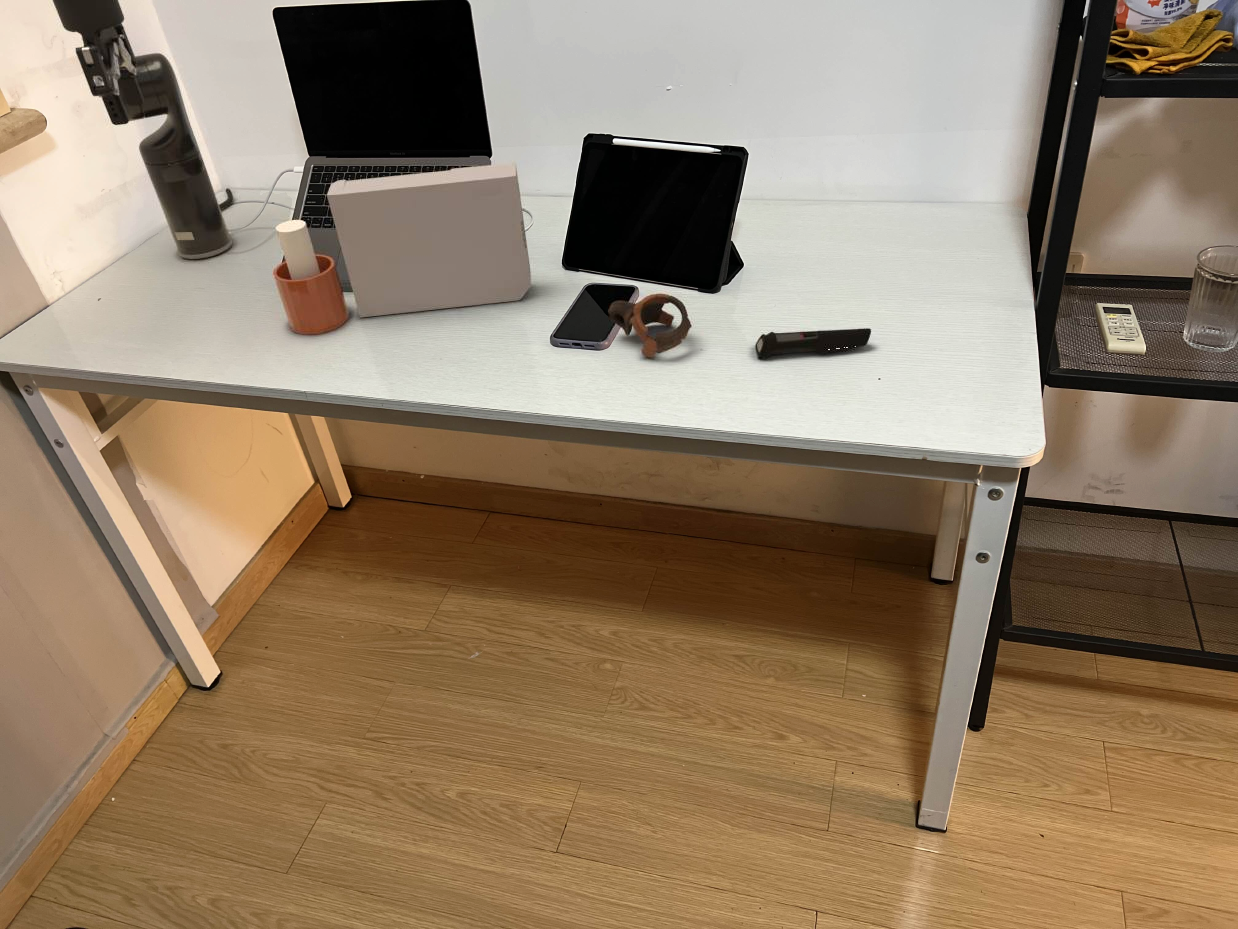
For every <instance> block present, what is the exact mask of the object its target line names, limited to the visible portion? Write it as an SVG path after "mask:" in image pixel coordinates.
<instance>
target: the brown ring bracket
mask: <svg viewBox="0 0 1238 929" xmlns="http://www.w3.org/2000/svg"><path fill="white" fill-rule="evenodd" d="M665 304H672V305H673V306H675V307H676V309H678V310H679V312H680V315H681V321H680V324H679V325H678V326H677V327H676V328H675V329H673V330H671V331H669V332H655V333H654V334H655V337H653V336H651V335H650V334H649V328H648V327H647V326H648V325H650V324H661V325H664V326H667V327H671V326H672V325H673V321H674V319H675V316H674V315H673V314H670V313H668V312H667V311H665V310H663V308H664V306H665ZM607 313H608V315H609V317H610V319H611V320H612V322H614V324H615V325H617V326H618V327H620V328H621V329H622V330H623V332H624V333H625V336H626V337H628V336H630V334H631V332H632V330H634V332H635V333H636V336H638V338H639V339H640V340H641V341H642V342H643V347H642V349H641V355H642V356H645V357H647V358H648V359H649V358H650V359H652V358H653V357H654V356H656V354H661V353H662V354H663V353H665V352H667V351H669V350H672V349H674V348H676V347H677V346H679V345H681V344H682V341H683V340H685V339H686V337H687V336H688V333H689V331H690V329H691V328H692V326H693V325H692V322H691V321H690V319H689V314H688V310H687V308H686V306H685V304H684V303H683V302H682V301H681V300H680V299H679V298H677V297H675V296H673V295H670V294H666V293H653V294H649V295H647V296H645V297H643V298H642V299H641V300H639V301H638V302H635V303H634V302H629V301H628V300H627V301H626V300H616V301H613V302H612V303H611V304H610V306H609V308H608V310H607Z"/></svg>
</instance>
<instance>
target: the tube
mask: <svg viewBox="0 0 1238 929" xmlns="http://www.w3.org/2000/svg"><path fill="white" fill-rule="evenodd" d="M275 231H276V234H277V237H278V241H279V244H280V247H281V249H282V254H283V256H284V260H285V261H286V263H287V266H288V269H289V273H290V276H291V279H292V280H301V279H307V278H311V277H314V276H316V275H319V274H320V270H319V267H318V263H317V260H316V257H315V254H316V253H315V250H314V246H313V243H312V240H311V236H310V233H309V229H308V226H307V223H306V221H304V220H301V219H293V220H292V219H291V220H287V221H284V222H281V223H279V224H277V226H276V227H275Z"/></svg>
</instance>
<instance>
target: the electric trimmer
mask: <svg viewBox="0 0 1238 929" xmlns="http://www.w3.org/2000/svg"><path fill="white" fill-rule="evenodd" d="M871 335H872V329H871V328H869V327H867V328H866V327H865V328H848V329H847V328H845V329H828V330H809V331H805V330H804V331H791V332H790V331H789V332H774V331H770V332H769V333H767V334H765V333H762V334H761V335H760V336H759V338H758V339H757V341H756V342H755V346H754V348H755V349H754V350H755V353H756V357H757V358H762V359H763V360H765V359H767V358H768V357H769V356H770V355H780V354H781V355H782V354H793V353H802V352H803V353H804V352H805V353H806V352H814V351H815V352H818V353H820V354H825V353H833V352H839V351H845V350H850V349H855V348H860V347H865V346H866V345H867V344H868V343H869V340H870V338H871ZM855 346H856V347H855ZM844 347H845V348H844ZM846 347H848V348H846ZM836 348H840V349H836ZM828 349H830V350H828Z"/></svg>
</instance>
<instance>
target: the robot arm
mask: <svg viewBox="0 0 1238 929" xmlns="http://www.w3.org/2000/svg"><path fill="white" fill-rule="evenodd" d="M52 3H53V5H54V7H55V10H56V13H57V15H58V17H59V20H60V23H61V26H62V27H63V28H64V30H66V31H67V32H70V33H78V34H80V36H81V40H82V43H83V46H81V47H80V46H79V47H75V54H76V56H77V59H78V61H79V64H80V66H81V69H82V72H83V75H84V77H85V80H86V82H87V85H88V87H89V88H88V89H89V90H90V93H91V95H92V96H93V97H98V98H101V99H102V102H103V104H104V107H105V110H106V112H107V114H108V117H109V119H110V122H111V124H112V125H114V126H121V125H127V124H129V122H134V121H140V120H144V119H149V118H155V117H158V116H159V117H160V116H165V115H166V119H165V120H164V122H163V123H162V125H161V126H160V127H159V128H157V129H156V130H155V131H154V132H152V133H151V134H149V135H148V136H146V137H144V138H143V139H142V140H141V141H140V143H139V145H138V150H139V153H140V156H141V159H142V162H143V163H144V167H145V168H146V169H145V170H146V171H147V174H148V177H149V179H150V181H151V184H152V186H153V189H154V191H155V194H156V197H157V200H158V202H159V204H160V205H159V206H160V207H161V210H162V212H163V214H164V215H163V216H164V217H165V220H166V223H167V225H168V228H169V231H170V233H171V236H172V238H173V241H174V243H175V246H176V249H177V253H178V255H179V257H181V258H182V259H187V260H200V259H202V260H203V259H207V258H211V257H214V256H218V255H220V254H223V253H224V252H226V251H227V250H228V249H230V248H231V247H232V245H233V240H232V237H231V236H230V234H229V233H230V232H229V230H228V228H227V225H226V224H227V223H226V222H225V218H224V216H223V212H222V210H223V209H225V208H227V207H229V205H231V204H232V202H233V200H234V196H233V192H232V190H231V189H230V188H228V187H227V188H226V189H225V193H226V195H227V199H226V200H224V201H223V202H221V203H219V201H218V198H217V196H216V193H215V190H214V187H213V184H212V182H211V178H210V176H209V173H208V170H207V168H206V164H205V162H204V159H203V156H202V153H201V150H200V147H199V144H198V142H197V139H196V136H195V133H194V130H193V128H192V125H191V122H190V120H189V116H188V113H187V109H186V107H185V103H184V99H183V96H182V91H181V88H180V85H179V81H178V79H177V76H176V74H175V71H174V68H173V66H172V64H171V62H170V60H169V59H168V58H167V56H165V55H164V54H162V53H159V52H153V53H147V54H142V55H136V56H135V53H134V51H133V48H132V46H131V43H130V41H129V38H128V35H127V33H126V29H125V26H124V25H123V23H124V21H125V15H124V13H123V10H122V7H121V5H120V2H119V0H52Z"/></svg>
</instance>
